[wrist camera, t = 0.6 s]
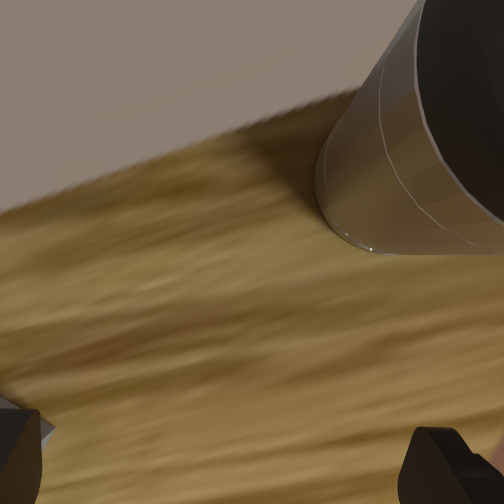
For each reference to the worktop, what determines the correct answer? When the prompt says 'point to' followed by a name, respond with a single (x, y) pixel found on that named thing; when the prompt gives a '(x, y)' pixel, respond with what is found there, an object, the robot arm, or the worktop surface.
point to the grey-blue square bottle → (45, 427)
